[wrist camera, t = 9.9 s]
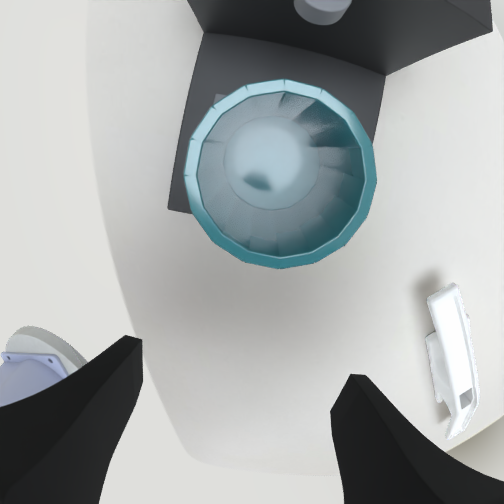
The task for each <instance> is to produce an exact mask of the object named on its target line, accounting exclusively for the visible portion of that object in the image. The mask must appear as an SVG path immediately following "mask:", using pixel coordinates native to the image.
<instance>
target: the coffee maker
mask: <svg viewBox="0 0 504 504" xmlns="http://www.w3.org/2000/svg"><path fill="white" fill-rule="evenodd" d="M187 1H188V3H189V5H190V6H191V8H192V10H193V12H194V14H195V16H196V18H197V20H198V22H199V24H200V26H201V28H202V30H203V31H204V34H203V37H202V41H201V45H200V48H199V52H198V56H197V60H196V63H195V67H194V71H193V75H192V80H191V84H190V88H189V92H188V97H187V101H186V106H185V110H184V115H183V120H182V125H181V130H180V135H179V140H178V146H177V151H176V157H175V162H174V168H173V174H172V181H171V187H170V194H169V201H168V209H169V210H173V211H178V212H183V213H189V214H192V211H191V208H190V204H189V200H188V195H187V191H186V187H185V182H184V178H183V176H184V175H183V172H184V167H185V161H186V155H187V150H188V145H189V140H190V138H191V135H192V134H193V132H194V131H195V129H196V128H197V126H198V125H199V123H200V122H201V120H202V119H203V117H204V116H205V114H206V113H207V111H208V110H209V108H210V107H211V106H212V105H213V104H215V103H216V102H218V101H219V100H221V99H222V98H224V97H225V96H227V95H228V94H230V93H232V92H233V91H235V90H236V89H238V88H240V87H241V86H243V85H246V84H250V83H255V82H261V81H268V80H275V79H282V78H283V79H290V80H294V81H298V82H302V83H306V84H310V85H314V86H317V87H321V88H322V89H325V90H326V91H328V92H329V93H330V94H332V95H333V96H334V97H336V98H337V99H338V100H340V101H341V102H342V103H343V104H345V105H346V106H347V107H349V108H350V109H351V110H352V111H353V112H354V113H355V115H356V116H357V118H358V120H359V121H360V123H361V125H362V127H363V128H364V130H365V132H366V134H367V135H368V137H369V139H370V141H371V143H372V144H373V140H374V135H375V131H376V126H377V121H378V116H379V111H380V106H381V101H382V96H383V90H384V85H385V79H386V76H387V75H389V74H391V73H393V72H395V71H397V70H400V69H402V68H404V67H406V66H408V65H410V64H413V63H415V62H417V61H419V60H422V59H424V58H426V57H428V56H431V55H433V54H435V53H438V52H440V51H443V50H445V49H448V48H450V47H453V46H455V45H458V44H460V43H463V42H465V41H468V40H471V39H473V38H476V37H479V36H482V35H485V34H487V33H490V32H492V31H493V27H492V13H491V3H490V0H187ZM345 245H346V244H345ZM345 245H344V246H345Z"/></svg>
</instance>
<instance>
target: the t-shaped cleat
mask: <svg viewBox="0 0 504 504" xmlns="http://www.w3.org/2000/svg"><path fill="white" fill-rule="evenodd" d="M427 304H428V307H429V310H430V314H431V317H432V320H433V323H434V327H435V330H436V331H435V332H433V333H432V334H430V335H428V336H427V337H426V338H425V340H426V345H427V350H428V355H429V360H430V366H431V372H432V378H433V384H434V391H435V398H436V400H437V402H438V403H441V402H442V401H445V403H446V405H447V407H448V409H449V411H450V413H451V415H452V416H451V419H450V422H449V425H448V428H447V430H446V433H445V437H446V439H447V440H449V439H451V438H453V437H454V436H456V435H458V434H459V433H461V432H463V431H464V430H465V428H466V427H467V425H468V423H469V421H470V419H471V417H472V416H473V414H474V412H475V410H476V408H477V406H478V404H479V401H480V389H479V381H478V374H477V367H476V361H475V355H474V349H473V344H472V339H471V333H470V320H469V316H468V314H467V313H466V312H465V308H464V304H463V301H462V297H461V293H460V290H459V286H458V285H456V284H454V283H451V284H449V285H448V286H446V287H444V288H443V289H441V290H440V291H438V292H436V293H435V294H433V295H431V296H430V297H428V298H427Z"/></svg>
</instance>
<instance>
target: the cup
mask: <svg viewBox="0 0 504 504" xmlns="http://www.w3.org/2000/svg"><path fill="white" fill-rule="evenodd" d="M183 175H184V176H183V178H184V182H185V187H186V191H187V195H188V200H189V204H190V208H191V211H192V214H193V215H194V217H195V218H196V219H197V221H198V222H199V224H200V225H201V226H202V228H203V229H204V231H205V232H206V233H207V235H208V236H209V238H210V239H211V240H212V241H213V242H214V243H215V244H216V245H218V246H219V247H221V248H222V249H224V250H226V251H227V252H229V253H230V254H232V255H233V256H235V257H236V258H238V259H240V260H241V261H243V262H245V263H250V264H255V265H260V266H265V267H270V268H275V269H279V268H280V269H285V268H290V267H296V266H302V265H308V264H313V263H314V262H315V263H316V262H318V261H320V260H321V259H323V258H325V257H326V256H328V255H330V254H331V253H333V252H335V251H336V250H338V249H340V248H341V247H343V246H344V245H345V244H347V242H348V241H349V240H350V239H351V237H352V236H353V235H354V233H355V232H356V231H357V230H358V228H359V227H360V226H361V224H362V223H363V222H364V220H365V219H366V218H367V215H368V213H369V209H370V206H371V202H372V199H373V195H374V191H375V187H376V184H377V182H376V181H377V176H376V167H375V159H374V151H373V146H372V143H371V141H370V139H369V137H368V135H367V134H366V132H365V130H364V128H363V127H362V125H361V123H360V121H359V120H358V118H357V116H356V115H355V113H354V112H353V111H352V110H351V109H350V108H349V107H347V106H346V105H345V104H343V103H342V102H341V101H340V100H338V99H337V98H336V97H334V96H333V95H332V94H330V93H329V92H328V91H326V90H325V89H322V88H321V87H317V86H314V85H310V84H306V83H302V82H298V81H294V80H290V79H283V78H282V79H275V80H268V81H261V82H255V83H250V84H246V85H243V86H241V87H240V88H238V89H236V90H235V91H233V92H232V93H230V94H228V95H227V96H225V97H224V98H222V99H221V100H219V101H218V102H216V103H215V104H213V105H212V106H211V107H210V108H209V110H208V111H207V113H206V114H205V116H204V117H203V119H202V120H201V122H200V123H199V125H198V126H197V128H196V129H195V131H194V132H193V134H192V135H191V138H190V140H189V145H188V150H187V155H186V161H185V167H184V172H183Z"/></svg>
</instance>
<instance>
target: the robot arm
mask: <svg viewBox="0 0 504 504" xmlns="http://www.w3.org/2000/svg"><path fill="white" fill-rule="evenodd" d="M1 357H2V358H3V360H4V363H3V364H2V365H1V366H0V504H99V500H100V496H101V492H102V488H103V484H104V481H105V477H106V474H107V470H108V467H109V463H110V461H111V458H112V455H113V453H114V451H115V449H116V446H117V444H118V442H119V440H120V438H121V435H122V433H123V431H124V429H125V427H126V424H127V422H128V420H129V418H130V416H131V414H132V412H133V409H134V407H135V405H136V402H137V399H138V396H139V392H140V390H141V386H142V383H143V360H142V339H139V338H135V337H131V336H127V335H125V336H123V337H122V338H121V339H119V340H118V341H117V342H115V343H114V344H113V345H111V346H110V347H109V348H107V349H106V350H105V351H103V352H102V353H101V354H100V355H98V356H97V357H95V358H94V359H92V360H91V361H90V362H88V363H87V364H85V365H84V366H83V367H81V368H80V369H78V370H77V371H75V372H73V373H72V374H70V375H69V374H68V372H67V371H66V369H65V367H64V365H63V364H62V362H61V360H60V358H59V357H58V356H57V355H55V354H34V353H15V352H2V353H1ZM330 414H331V429H332V437H333V442H334V447H335V452H336V456H337V461H338V466H339V470H340V475H341V480H342V485H343V492H344V504H504V481H500V480H498V479H495V478H492V477H489V476H487V475H484V474H482V473H480V472H478V471H476V470H474V469H472V468H470V467H468V466H466V465H464V464H462V463H461V462H459V461H458V460H456V459H454V458H453V457H451V456H450V455H448V454H447V453H445V452H444V451H443V450H441V449H440V448H439V447H437V446H436V445H435V444H434V443H432V442H431V441H430V440H429V439H427V438H426V437H425V436H424V435H423V434H422V433H421V432H420V431H418V430H417V429H416V428H415V427H414V426H413V425H412V424H411V423H410V422H409V421H408V420H407V419H406V418H405V417H404V416H403V415H402V414H401V413H400V412H399V411H398V409H397V408H396V407H395V406H394V405H393V404H392V403H391V402H390V401H389V400H388V399H387V397H386V396H385V395H384V394H383V393H382V392H381V391H380V390H379V389H378V388H377V386H376V385H375V384H374V383H373V382H372V381H371V380H370V379H369V378H368V377H367V376H366V375H358V374H350V376H349V378H348V380H347V382H346V384H345V385H344V387H343V389H342V391H341V393H340V395H339V396H338V398H337V400H336V402H335V404H334V405H333V407H332V409H331V411H330Z"/></svg>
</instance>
